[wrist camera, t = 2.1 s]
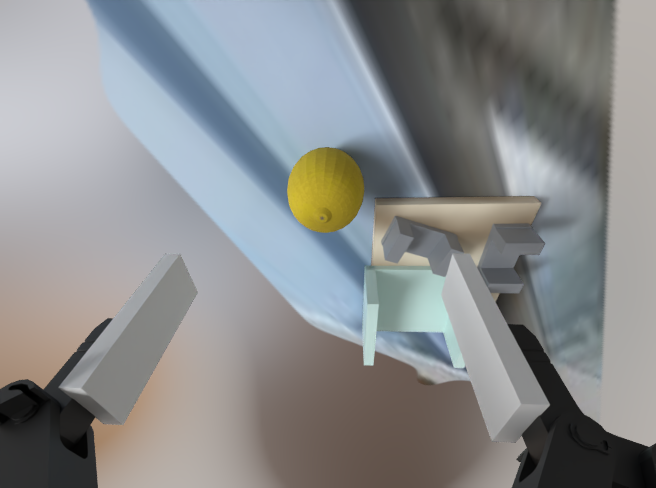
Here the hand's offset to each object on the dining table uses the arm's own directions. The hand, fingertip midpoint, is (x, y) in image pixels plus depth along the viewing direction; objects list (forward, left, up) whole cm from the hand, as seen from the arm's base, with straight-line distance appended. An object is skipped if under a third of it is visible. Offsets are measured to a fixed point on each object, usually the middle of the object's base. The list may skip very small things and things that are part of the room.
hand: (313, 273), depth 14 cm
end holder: (+15, +9, -11) cm, 20 cm away
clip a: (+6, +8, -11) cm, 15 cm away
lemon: (0, 0, -13) cm, 13 cm away
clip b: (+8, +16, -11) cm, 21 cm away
